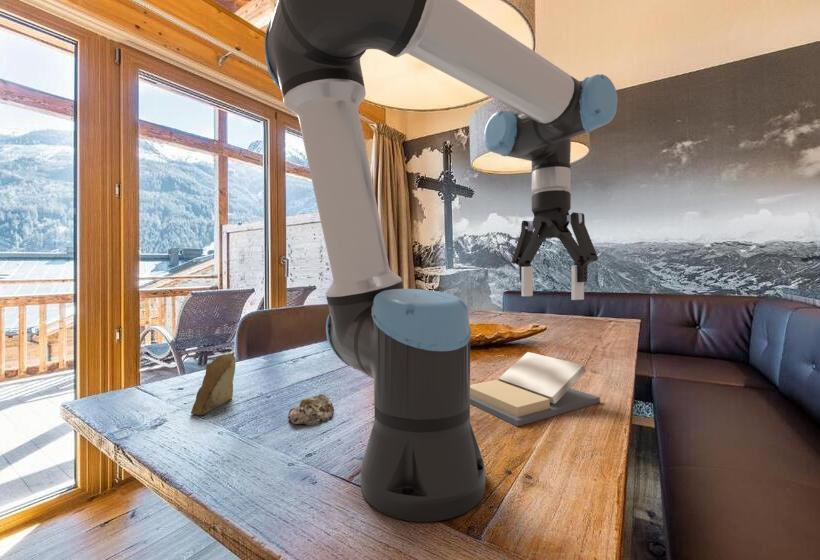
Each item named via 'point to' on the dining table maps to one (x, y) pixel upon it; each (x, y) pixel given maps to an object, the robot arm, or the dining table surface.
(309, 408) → the mineral rock
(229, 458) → the dining table surface
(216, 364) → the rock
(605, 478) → the dining table surface
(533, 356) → the book
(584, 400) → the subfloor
